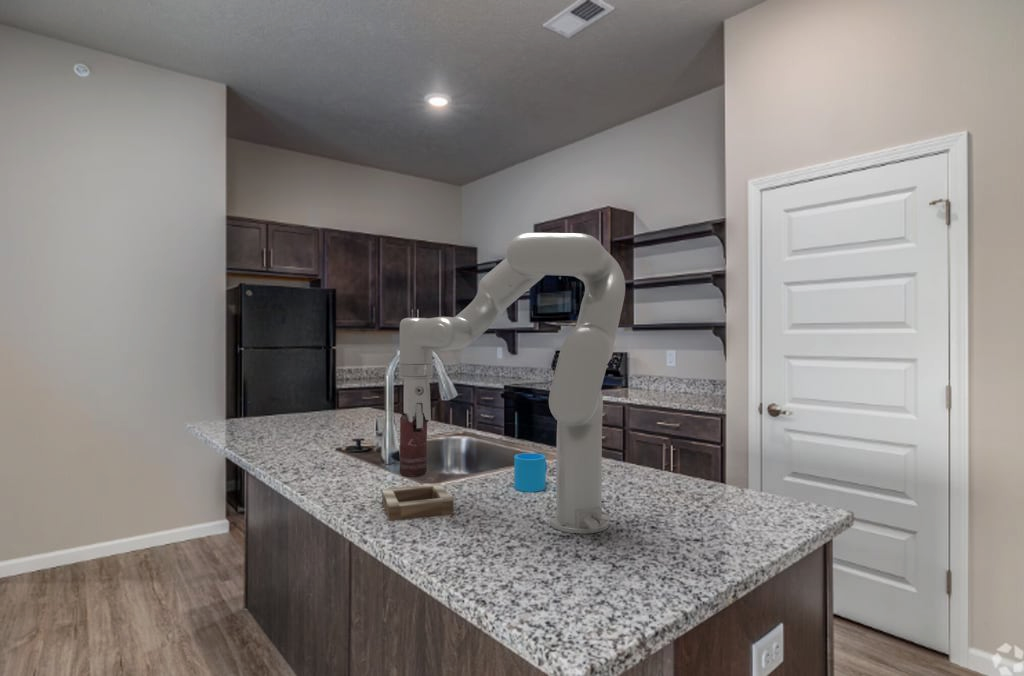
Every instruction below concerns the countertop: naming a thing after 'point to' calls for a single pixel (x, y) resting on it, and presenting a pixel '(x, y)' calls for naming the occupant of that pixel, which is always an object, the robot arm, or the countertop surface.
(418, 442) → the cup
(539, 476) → the mug
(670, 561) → the countertop surface
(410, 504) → the socket block
